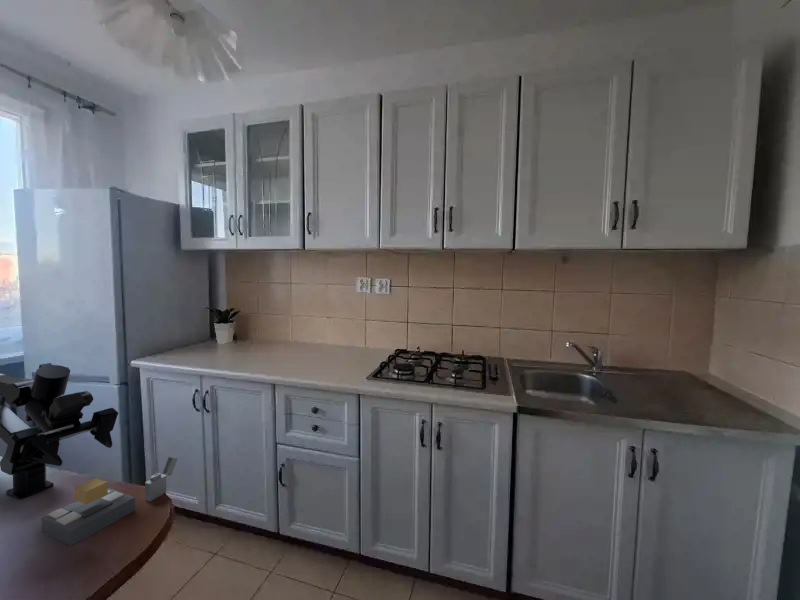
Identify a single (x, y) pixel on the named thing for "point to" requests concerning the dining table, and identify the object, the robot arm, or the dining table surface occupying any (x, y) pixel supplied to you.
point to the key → (91, 490)
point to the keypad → (86, 517)
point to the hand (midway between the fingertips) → (87, 454)
